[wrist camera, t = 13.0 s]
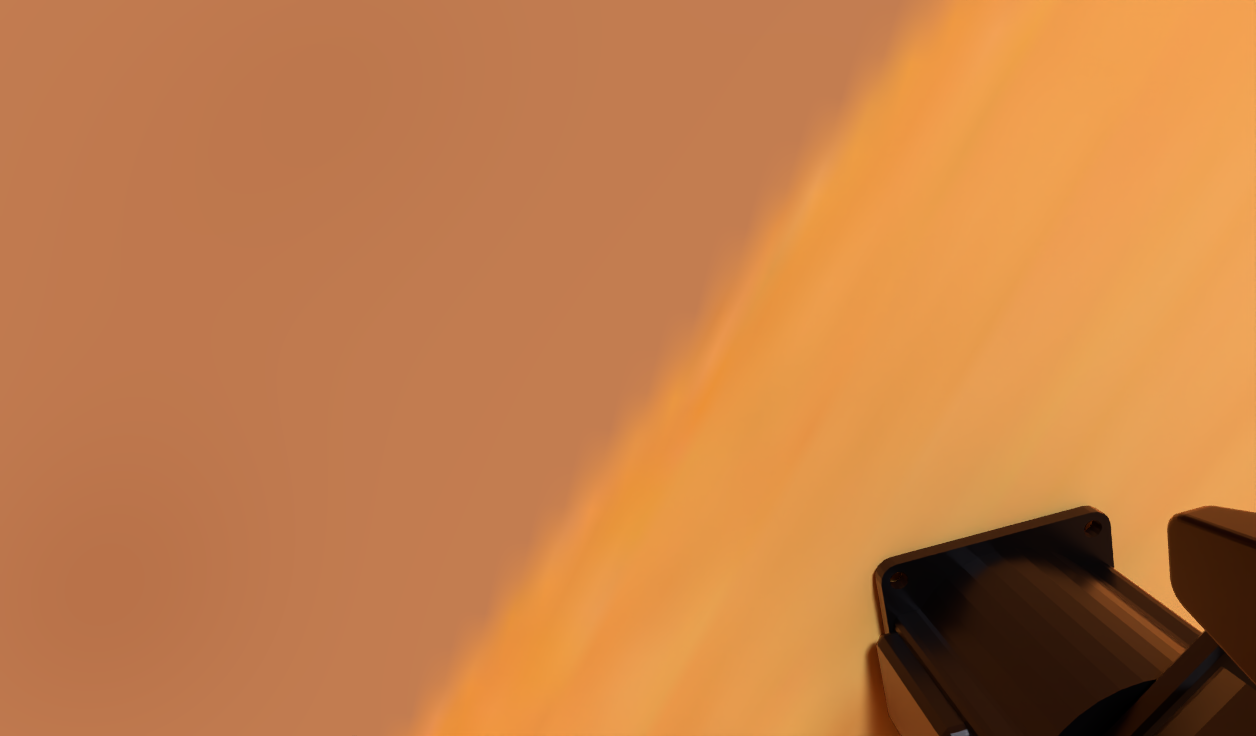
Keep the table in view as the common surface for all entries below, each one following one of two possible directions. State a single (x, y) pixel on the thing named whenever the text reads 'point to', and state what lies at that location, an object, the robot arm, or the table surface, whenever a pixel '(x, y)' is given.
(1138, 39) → the table surface
